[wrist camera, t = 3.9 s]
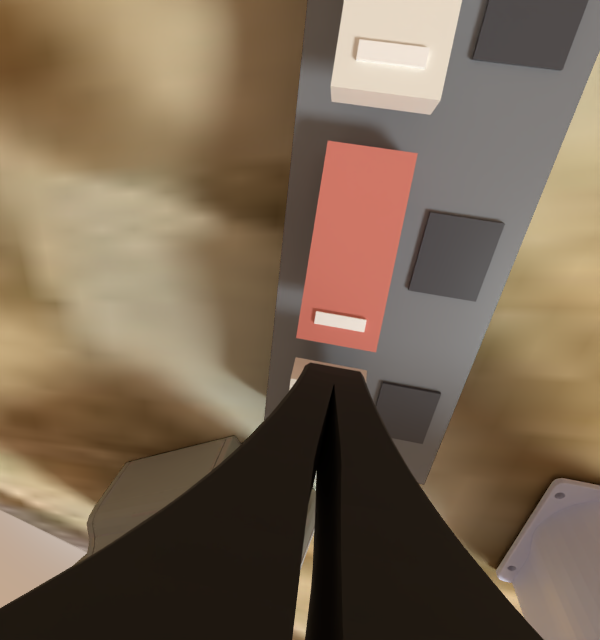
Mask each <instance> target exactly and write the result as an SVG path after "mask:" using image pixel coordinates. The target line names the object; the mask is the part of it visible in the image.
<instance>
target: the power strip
mask: <svg viewBox="0 0 600 640" xmlns="http://www.w3.org/2000/svg"><path fill="white" fill-rule="evenodd" d="M343 4H344V0H308V2H307V11H306V21H305V31H304V40H303V50H302V60H301V69H300V79H299V89H298V98H297V108H296V118H295V127H294V137H293V147H292V156H291V166H290V176H289V185H288V195H287V205H286V214H285V224H284V234H283V243H282V253H281V263H280V272H279V282H278V292H277V301H276V311H275V321H274V330H273V340H272V350H271V359H270V369H269V379H268V388H267V398H266V408H265V417H264V420H265V419H266V418H267V417H268V416H269V415H270V414H271V413H272V412H273V410H274V409H275V408H276V407H277V406H278V404H279V403H280V402H281V401H282V399H283V398H284V397H285V396H286V395H287V393H288V392H289V389H290V379H291V374H292V370H293V366H294V362H295V358H296V357H297V358H303V359H308V360H314V361H319V362H324V363H330V364H335V365H341V366H346V367H351V368H357V369H362V370H367V377H366V384H367V387H368V389H369V392H370V394H371V397H372V399H373V401H374V404H375V406H376V408H377V410H378V412H379V414H380V417H381V419H382V421H383V423H384V424H385V426H386V428H387V430H388V432H389V434H390V436H391V438H392V440H393V442H394V444H395V445H396V447H397V449H398V451H399V453H400V454H401V456H402V458H403V459H404V461H405V463H406V464H407V466H408V468H409V469H410V471H411V473H412V474H413V476H414V477H415V479H416V481H417V482H418V484H423V485H424V484H425V481H426V479H427V476H428V474H429V471H430V469H431V466H432V464H433V461H434V459H435V456H436V454H437V452H438V449H439V447H440V444H441V442H442V439H443V437H444V434H445V432H446V429H447V427H448V424H449V422H450V419H451V417H452V414H453V412H454V409H455V407H456V405H457V402H458V400H459V397H460V395H461V392H462V390H463V387H464V385H465V382H466V380H467V377H468V375H469V372H470V370H471V367H472V365H473V362H474V360H475V358H476V355H477V353H478V350H479V348H480V345H481V343H482V340H483V338H484V335H485V333H486V330H487V328H488V325H489V323H490V320H491V318H492V315H493V313H494V311H495V308H496V306H497V303H498V301H499V298H500V296H501V293H502V291H503V288H504V286H505V283H506V281H507V278H508V276H509V273H510V271H511V268H512V266H513V264H514V261H515V259H516V256H517V254H518V251H519V249H520V246H521V244H522V241H523V239H524V236H525V234H526V231H527V229H528V226H529V224H530V221H531V219H532V217H533V214H534V212H535V209H536V207H537V204H538V202H539V199H540V197H541V194H542V192H543V189H544V187H545V184H546V182H547V179H548V177H549V174H550V172H551V170H552V167H553V165H554V162H555V160H556V157H557V155H558V152H559V150H560V147H561V145H562V142H563V140H564V137H565V135H566V132H567V130H568V127H569V125H570V123H571V120H572V118H573V115H574V113H575V110H576V108H577V105H578V103H579V100H580V98H581V95H582V93H583V90H584V88H585V85H586V83H587V81H588V78H589V76H590V73H591V71H592V68H593V66H594V63H595V61H596V58H597V56H598V53H599V51H600V0H462V4H461V8H460V13H459V17H458V22H457V27H456V31H455V36H454V40H453V45H452V50H451V54H450V59H449V64H448V68H447V73H446V77H445V82H444V87H443V91H442V96H441V100H440V102H439V103H438V105H437V106H436V108H435V109H434V111H433V112H432V114H431V115H428V114H421V113H413V112H406V111H398V110H391V109H383V108H376V107H368V106H361V105H353V104H346V103H338V102H332V100H331V80H332V73H333V67H334V61H335V54H336V48H337V42H338V35H339V29H340V23H341V16H342V10H343ZM328 141H334V142H341V143H349V144H356V145H363V146H370V147H377V148H384V149H391V150H398V151H405V152H412V153H418V155H417V160H416V164H415V169H414V174H413V179H412V183H411V188H410V193H409V198H408V202H407V207H406V212H405V217H404V221H403V226H402V231H401V236H400V241H399V245H398V250H397V255H396V260H395V264H394V269H393V274H392V279H391V283H390V288H389V293H388V298H387V302H386V307H385V312H384V317H383V321H382V326H381V331H380V336H379V340H378V345H377V350H376V352H371V351H365V350H360V349H354V348H349V347H343V346H338V345H332V344H327V343H321V342H316V341H310V340H305V339H299V338H296V335H297V329H298V323H299V316H300V310H301V304H302V298H303V292H304V285H305V279H306V273H307V267H308V260H309V254H310V248H311V242H312V236H313V229H314V223H315V217H316V211H317V204H318V198H319V192H320V186H321V179H322V173H323V167H324V161H325V155H326V148H327V142H328Z"/></svg>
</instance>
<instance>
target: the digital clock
mask: <svg viewBox="0 0 600 640" xmlns="http://www.w3.org/2000/svg"><path fill="white" fill-rule="evenodd" d="M240 445H241V444H240V442H239V440H238V439H237V438H236V437H235V436H231V437H227V438H223V439H219V440H215V441H211V442H207V443H203V444H199V445H195V446H191V447H187V448H183V449H179V450H175V451H171V452H167V453H163V454H159V455H155V456H151V457H147V458H143V459H139V460H135V461H131V462H127V463H126V464H125V465H124V466H123V468H122V469H121V470H120V472H119V473H118V475H117V476H116V477H115V479H114V480H113V482H112V483H111V484H110V486H109V487H108V488H107V490H106V491H105V493H104V494H103V495H102V497H101V498H100V500H99V501H98V502H97V504H96V505H95V507H94V509H93V510H92V512H91V514H90V516H89V518H88V522H87V529H88V535H89V547H88V552H87V554H86V555H85V556H83V557H82V558H81V559H80V560H79V561H78V562H77V563H79V562H81V561H82V560H84V559H86V558H88V557H89V556H91V555H93V554H94V553H96V552H97V551H99V550H101V549H102V548H104V547H105V546H107V545H109V544H110V543H112V542H113V541H115V540H116V539H118V538H119V537H121V536H122V535H124V534H125V533H127V532H128V531H130V530H131V529H133V528H134V527H136V526H137V525H139V524H140V523H142V522H143V521H145V520H146V519H148V518H149V517H150V516H152V515H153V514H155V513H156V512H158V511H159V510H161V509H162V508H164V507H165V506H167V505H168V504H169V503H171V502H172V501H173V500H175V499H176V498H177V497H179V496H180V495H182V494H183V493H184V492H185V491H187V490H188V489H189V488H191V487H192V486H193V485H194V484H196V483H197V482H198V481H199V480H201V479H202V478H203V477H204V476H206V475H207V474H208V473H209V472H211V471H212V470H213V469H214V468H215V467H217V466H218V465H219V464H220V463H221V462H222V461H223V460H225V459H226V458H227V457H228V456H229V455H230V454H231V453H232V452H234V451H235V450H236V449H237V448H238V447H239V446H240ZM315 502H316V491H315V490H314V489H312V491H311V496H310V500H309V504H308V511H307V519H306V527H305V535H304V543H303V551H302V559H301V566H302V564H303V561H304V558H305V555H306V553H307V550H308V547H309V544H310V541H311V539H312V536H313V533H314V527H315ZM77 563H76V564H77ZM76 564H75V565H76ZM73 566H74V565H73ZM300 569H301V568H300Z"/></svg>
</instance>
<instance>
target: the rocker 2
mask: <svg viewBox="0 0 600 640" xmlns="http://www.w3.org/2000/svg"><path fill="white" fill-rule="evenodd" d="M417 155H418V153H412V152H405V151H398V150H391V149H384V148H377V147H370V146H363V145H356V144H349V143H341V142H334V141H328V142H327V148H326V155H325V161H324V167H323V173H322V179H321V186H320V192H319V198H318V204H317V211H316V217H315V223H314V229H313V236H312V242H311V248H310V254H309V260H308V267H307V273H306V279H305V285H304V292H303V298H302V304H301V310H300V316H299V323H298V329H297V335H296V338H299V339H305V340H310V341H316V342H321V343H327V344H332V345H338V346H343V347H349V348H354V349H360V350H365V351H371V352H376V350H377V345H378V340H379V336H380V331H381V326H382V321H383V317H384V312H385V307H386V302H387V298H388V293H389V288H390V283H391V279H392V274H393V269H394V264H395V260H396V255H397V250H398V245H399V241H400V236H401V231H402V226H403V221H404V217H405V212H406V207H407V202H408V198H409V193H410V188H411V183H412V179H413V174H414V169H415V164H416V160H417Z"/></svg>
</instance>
